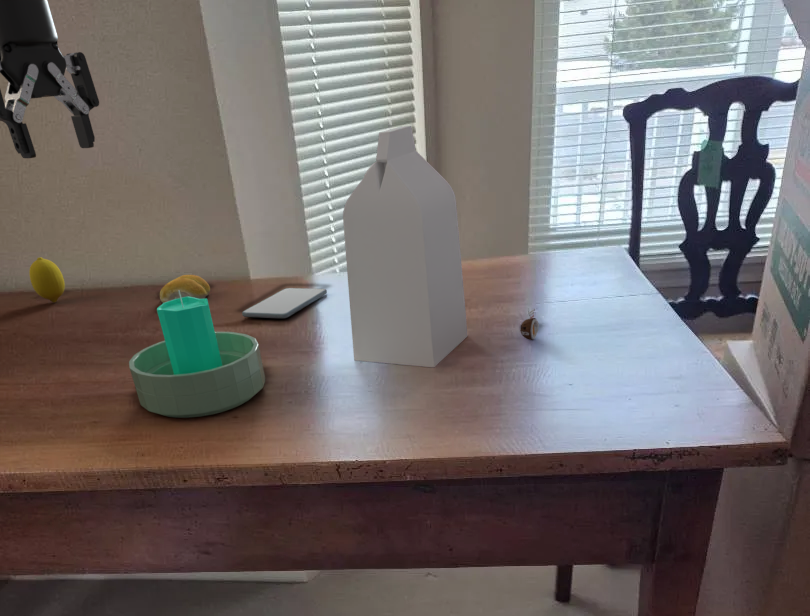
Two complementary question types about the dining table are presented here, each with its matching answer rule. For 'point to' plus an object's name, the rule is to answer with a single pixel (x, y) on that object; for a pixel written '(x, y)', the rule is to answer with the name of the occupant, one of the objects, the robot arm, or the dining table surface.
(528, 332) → the chocolate
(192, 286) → the bread roll
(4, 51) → the robot arm
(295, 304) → the smartphone
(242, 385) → the bowl
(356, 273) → the milk
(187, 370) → the candle
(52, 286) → the lemon
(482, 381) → the dining table surface
